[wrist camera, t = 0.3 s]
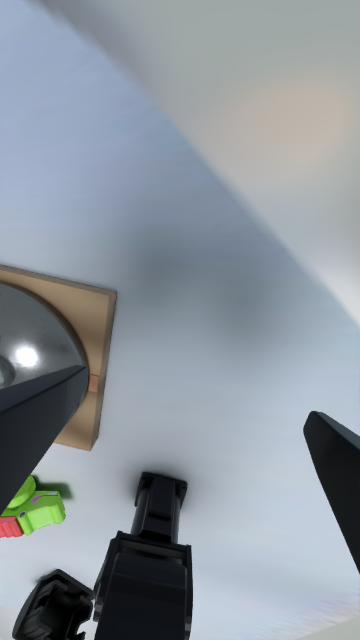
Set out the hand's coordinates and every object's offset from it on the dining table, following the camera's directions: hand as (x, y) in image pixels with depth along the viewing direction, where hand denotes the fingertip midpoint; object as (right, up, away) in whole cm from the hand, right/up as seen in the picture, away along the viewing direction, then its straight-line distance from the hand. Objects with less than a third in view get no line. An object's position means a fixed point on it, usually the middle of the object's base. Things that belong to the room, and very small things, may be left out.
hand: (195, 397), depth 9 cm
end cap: (-22, -46, +31) cm, 60 cm away
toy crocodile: (-26, -23, +24) cm, 43 cm away
